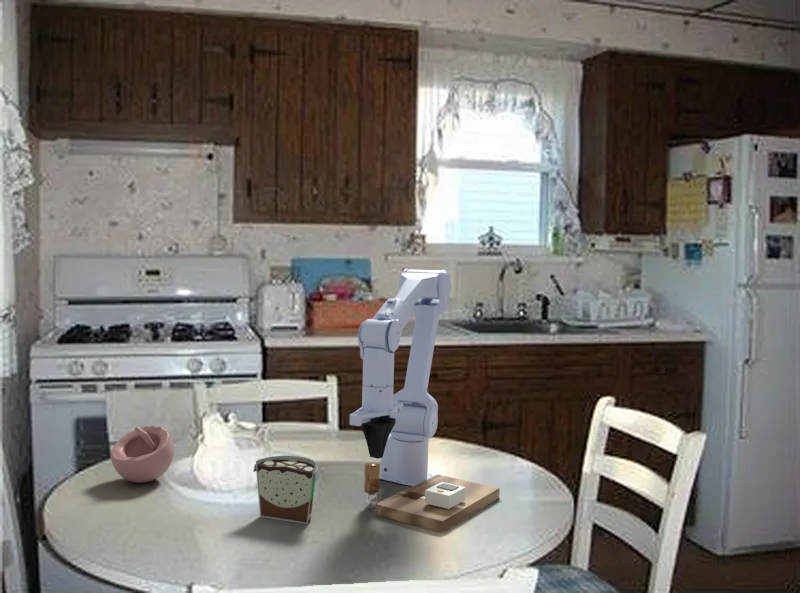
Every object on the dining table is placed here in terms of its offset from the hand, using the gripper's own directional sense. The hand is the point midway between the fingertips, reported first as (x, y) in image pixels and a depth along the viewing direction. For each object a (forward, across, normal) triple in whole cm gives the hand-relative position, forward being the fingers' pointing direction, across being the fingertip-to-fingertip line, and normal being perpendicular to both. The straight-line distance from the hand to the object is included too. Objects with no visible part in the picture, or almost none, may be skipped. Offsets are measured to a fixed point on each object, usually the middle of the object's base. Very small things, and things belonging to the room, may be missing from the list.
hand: (376, 457), depth 142 cm
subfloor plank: (+9, +8, -10) cm, 15 cm away
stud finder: (+7, +4, -12) cm, 15 cm away
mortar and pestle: (+10, -16, +46) cm, 49 cm away
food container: (+10, -12, +10) cm, 18 cm away
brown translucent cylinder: (+10, 0, +1) cm, 10 cm away
